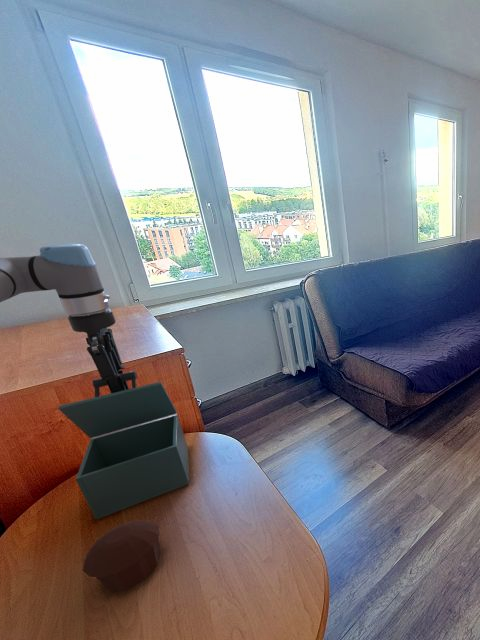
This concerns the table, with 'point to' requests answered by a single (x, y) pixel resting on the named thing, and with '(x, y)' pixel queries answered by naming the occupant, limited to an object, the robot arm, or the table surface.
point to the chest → (134, 465)
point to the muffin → (124, 555)
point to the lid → (119, 407)
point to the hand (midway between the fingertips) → (122, 396)
